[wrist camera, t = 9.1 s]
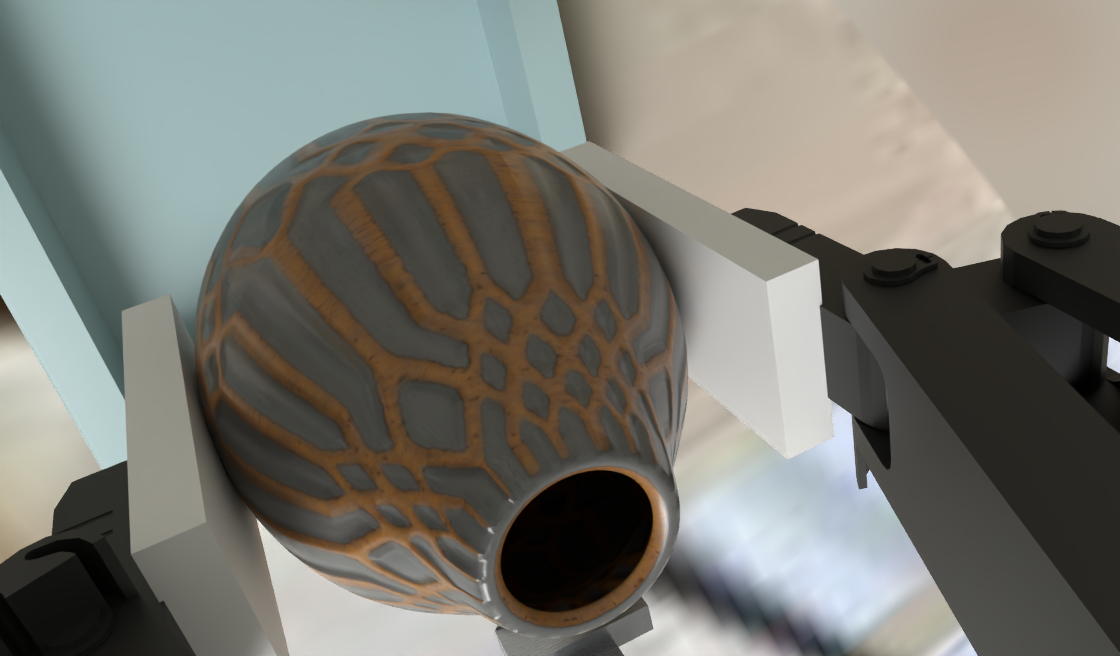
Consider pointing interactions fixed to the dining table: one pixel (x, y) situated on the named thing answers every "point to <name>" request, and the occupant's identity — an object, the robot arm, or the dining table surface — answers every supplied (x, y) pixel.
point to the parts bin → (212, 141)
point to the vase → (448, 374)
